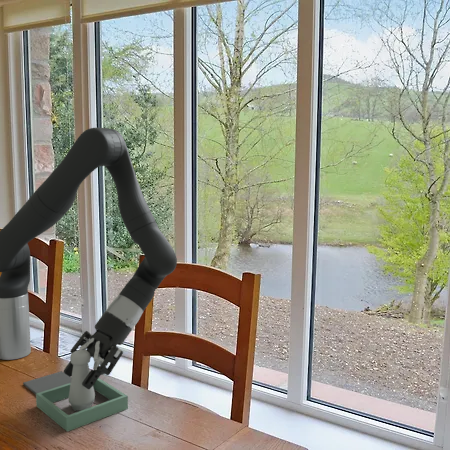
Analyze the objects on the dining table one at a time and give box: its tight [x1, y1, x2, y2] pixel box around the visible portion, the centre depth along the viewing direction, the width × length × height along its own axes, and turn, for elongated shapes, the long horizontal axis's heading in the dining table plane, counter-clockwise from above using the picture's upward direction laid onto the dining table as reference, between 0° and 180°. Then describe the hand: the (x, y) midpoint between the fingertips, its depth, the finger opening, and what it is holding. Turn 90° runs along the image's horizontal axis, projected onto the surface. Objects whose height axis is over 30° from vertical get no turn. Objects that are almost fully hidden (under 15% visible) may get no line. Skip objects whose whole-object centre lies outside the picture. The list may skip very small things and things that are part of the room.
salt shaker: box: [67, 349, 96, 412], centre depth 122 cm, size 6×6×13 cm
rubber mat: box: [22, 370, 72, 396], centre depth 134 cm, size 10×10×1 cm
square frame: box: [35, 377, 129, 432], centre depth 123 cm, size 15×15×3 cm
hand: (75, 380), depth 121 cm, fingers open, 8 cm apart
